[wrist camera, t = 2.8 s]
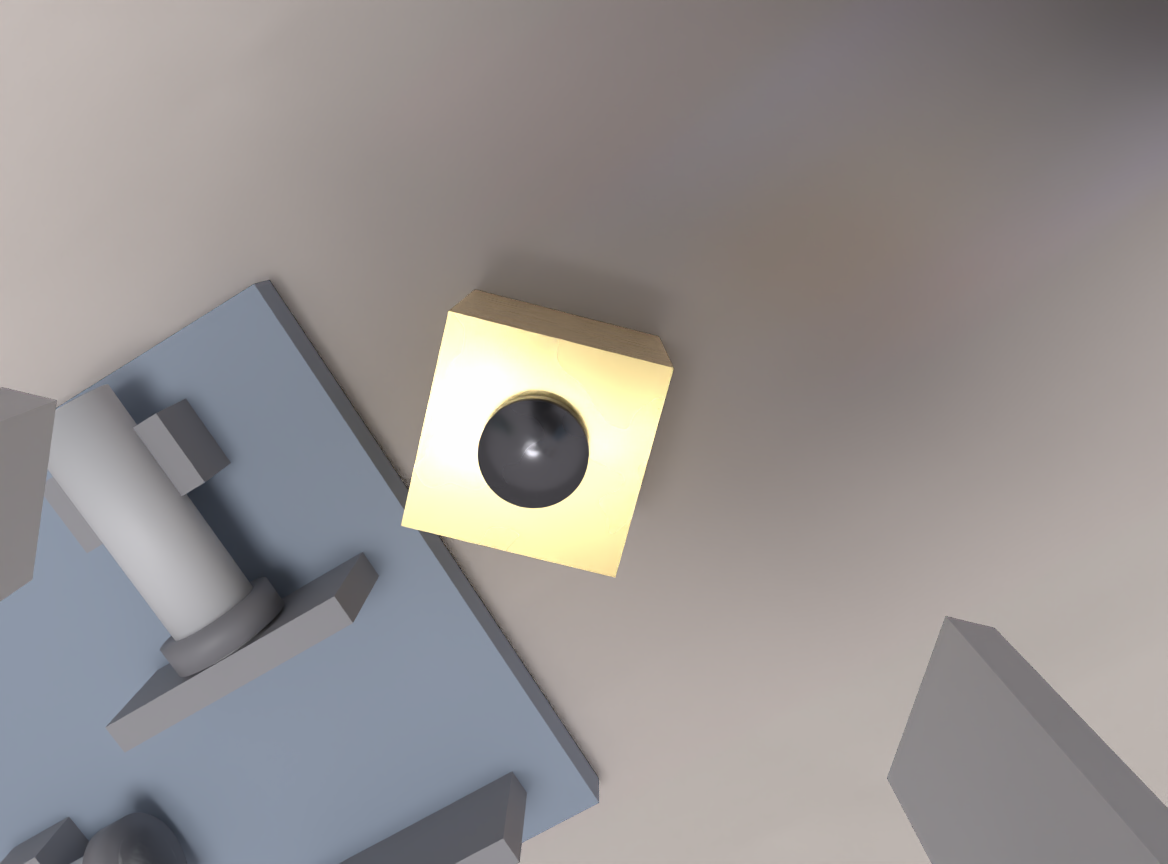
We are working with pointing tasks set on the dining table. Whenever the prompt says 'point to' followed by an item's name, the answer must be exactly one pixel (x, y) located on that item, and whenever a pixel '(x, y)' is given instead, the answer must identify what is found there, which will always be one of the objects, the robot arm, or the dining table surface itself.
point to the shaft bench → (256, 635)
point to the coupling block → (537, 432)
